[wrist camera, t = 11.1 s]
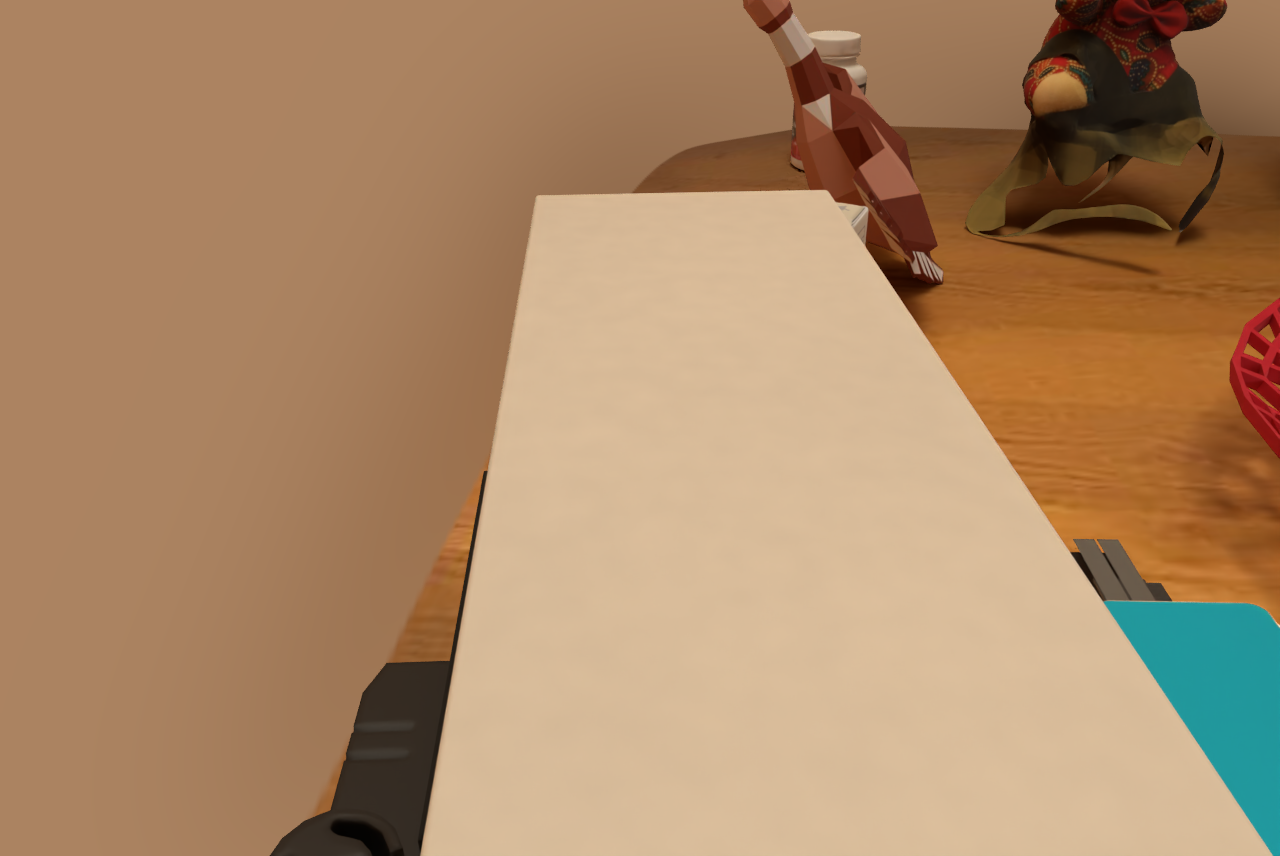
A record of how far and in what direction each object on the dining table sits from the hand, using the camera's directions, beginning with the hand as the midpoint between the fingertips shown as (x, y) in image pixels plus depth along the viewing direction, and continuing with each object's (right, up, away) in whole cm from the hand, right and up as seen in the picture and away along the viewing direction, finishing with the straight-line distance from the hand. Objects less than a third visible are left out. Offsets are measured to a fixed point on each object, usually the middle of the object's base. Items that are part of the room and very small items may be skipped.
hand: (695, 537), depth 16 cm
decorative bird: (+10, +10, +42) cm, 45 cm away
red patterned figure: (+28, +15, +50) cm, 60 cm away
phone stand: (+14, -8, +11) cm, 19 cm away
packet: (0, -2, -3) cm, 3 cm away
